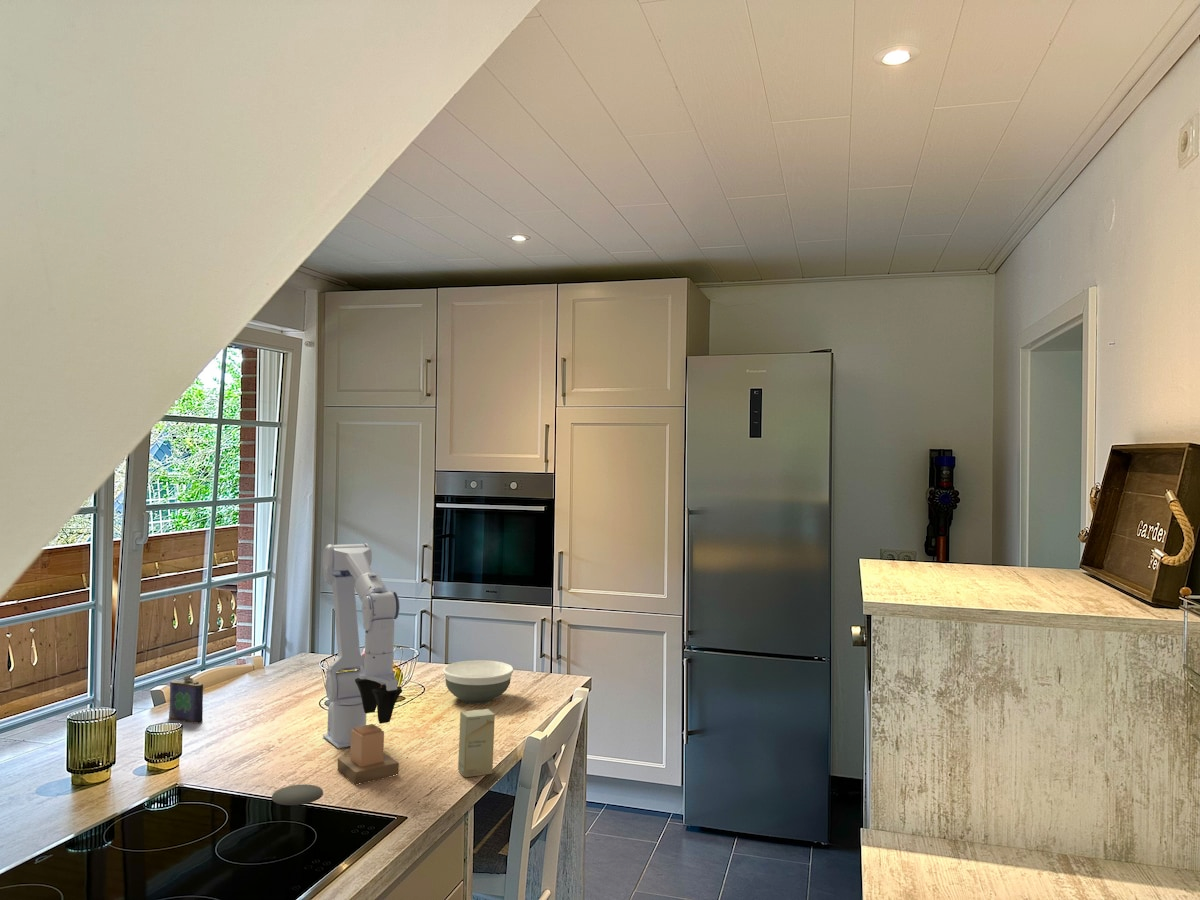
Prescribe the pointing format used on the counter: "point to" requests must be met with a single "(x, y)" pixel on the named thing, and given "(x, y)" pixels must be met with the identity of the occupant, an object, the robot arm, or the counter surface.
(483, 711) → the skincare box
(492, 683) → the bowl
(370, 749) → the tall tan wooden block
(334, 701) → the robot arm
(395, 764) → the walnut block
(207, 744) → the counter surface
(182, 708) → the flask
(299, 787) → the coaster
